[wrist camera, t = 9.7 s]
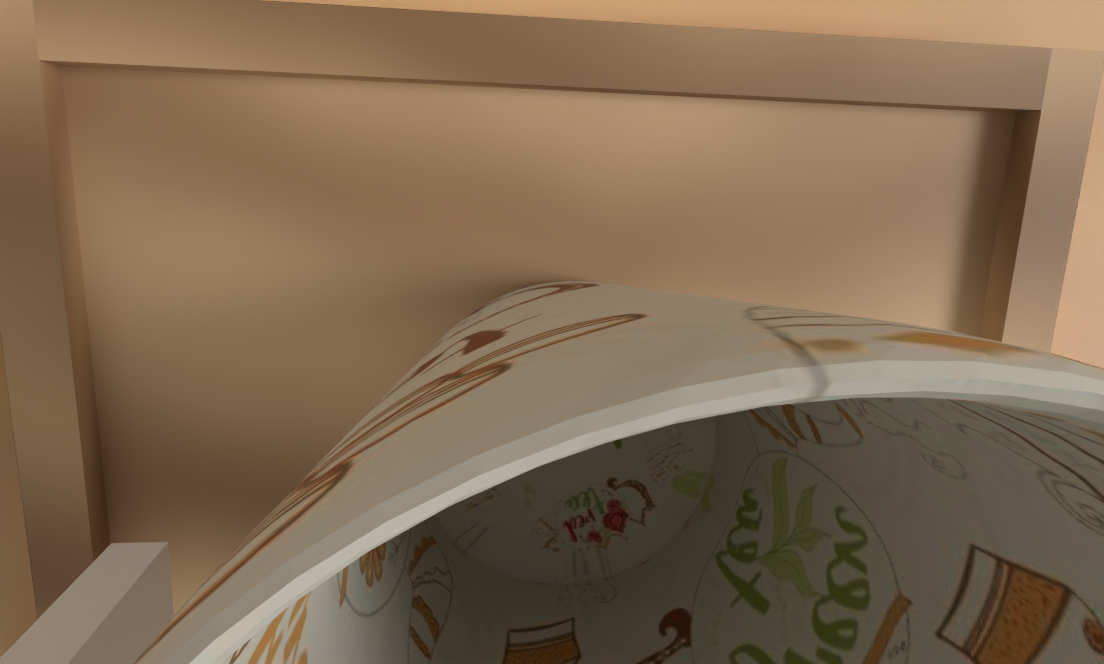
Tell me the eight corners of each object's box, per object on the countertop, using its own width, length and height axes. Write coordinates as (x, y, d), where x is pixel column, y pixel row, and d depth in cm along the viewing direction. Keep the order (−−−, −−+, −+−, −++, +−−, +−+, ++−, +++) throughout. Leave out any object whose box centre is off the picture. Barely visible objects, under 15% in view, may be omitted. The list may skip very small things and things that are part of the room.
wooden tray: (30, 10, 12) (-46, -19, 10) (1027, 66, 14) (1105, 51, 12) (127, 890, 16) (84, 979, 14) (900, 835, 18) (946, 907, 16)
